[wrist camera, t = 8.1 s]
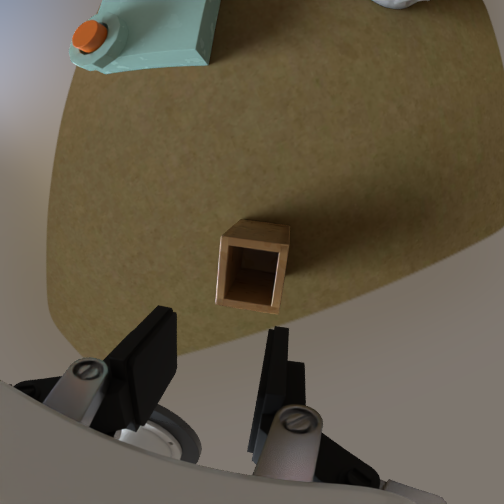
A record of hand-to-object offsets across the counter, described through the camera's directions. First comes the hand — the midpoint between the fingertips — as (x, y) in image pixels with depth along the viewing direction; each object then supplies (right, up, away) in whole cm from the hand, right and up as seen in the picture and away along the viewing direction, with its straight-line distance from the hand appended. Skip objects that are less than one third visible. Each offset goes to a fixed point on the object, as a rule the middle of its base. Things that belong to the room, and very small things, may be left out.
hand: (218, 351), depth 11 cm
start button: (-13, +23, +8) cm, 28 cm away
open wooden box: (+2, +4, +17) cm, 17 cm away
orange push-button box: (-8, +28, +12) cm, 32 cm away
